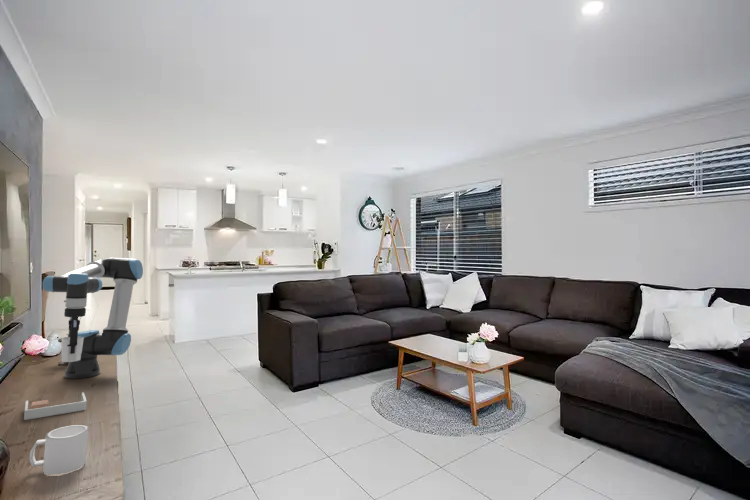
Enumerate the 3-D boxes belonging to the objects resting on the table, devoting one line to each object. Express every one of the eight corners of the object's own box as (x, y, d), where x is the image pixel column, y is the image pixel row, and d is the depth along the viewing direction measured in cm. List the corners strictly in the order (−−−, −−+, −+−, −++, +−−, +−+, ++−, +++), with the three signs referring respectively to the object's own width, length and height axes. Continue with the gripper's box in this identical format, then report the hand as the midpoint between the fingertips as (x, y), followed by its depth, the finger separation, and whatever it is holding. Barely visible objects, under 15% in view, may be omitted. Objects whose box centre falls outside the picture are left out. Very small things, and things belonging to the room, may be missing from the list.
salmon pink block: (31, 411, 157) (32, 401, 157) (47, 409, 160) (48, 399, 160) (30, 415, 153) (31, 405, 153) (47, 413, 156) (48, 403, 157)
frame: (25, 409, 159) (25, 400, 159) (83, 400, 171) (84, 392, 172) (23, 420, 149) (24, 410, 149) (85, 409, 161) (86, 401, 161)
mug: (22, 482, 109) (25, 443, 109) (33, 465, 118) (36, 429, 118) (82, 472, 115) (85, 435, 116) (88, 456, 124) (91, 423, 125)
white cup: (69, 363, 169) (71, 340, 169) (55, 361, 170) (57, 338, 171) (86, 359, 176) (88, 337, 177) (72, 357, 178) (74, 335, 179)
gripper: (64, 305, 180) (59, 355, 179) (65, 310, 164) (60, 364, 163) (84, 305, 185) (80, 353, 184) (87, 309, 169) (83, 362, 168)
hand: (71, 358), depth 173 cm, fingers closed on white cup, 7 cm apart
